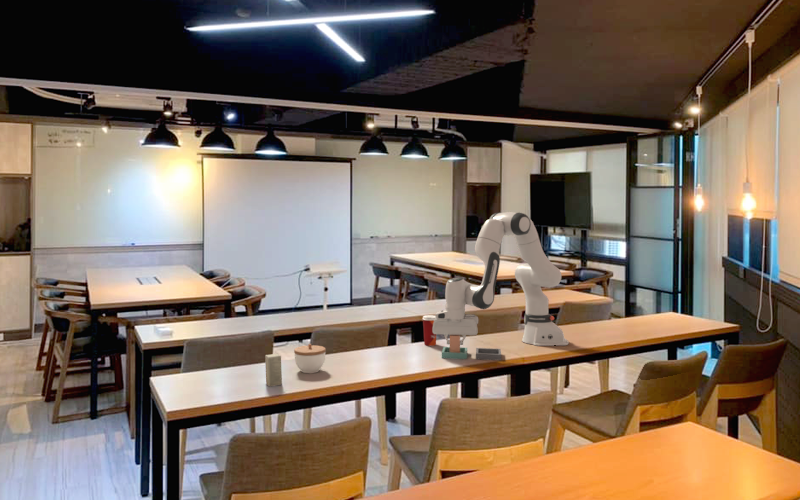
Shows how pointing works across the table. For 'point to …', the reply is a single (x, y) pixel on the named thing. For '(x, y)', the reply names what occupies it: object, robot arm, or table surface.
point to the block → (455, 343)
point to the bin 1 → (454, 353)
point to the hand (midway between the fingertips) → (454, 344)
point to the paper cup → (429, 330)
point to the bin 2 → (488, 354)
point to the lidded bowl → (309, 358)
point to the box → (273, 370)
